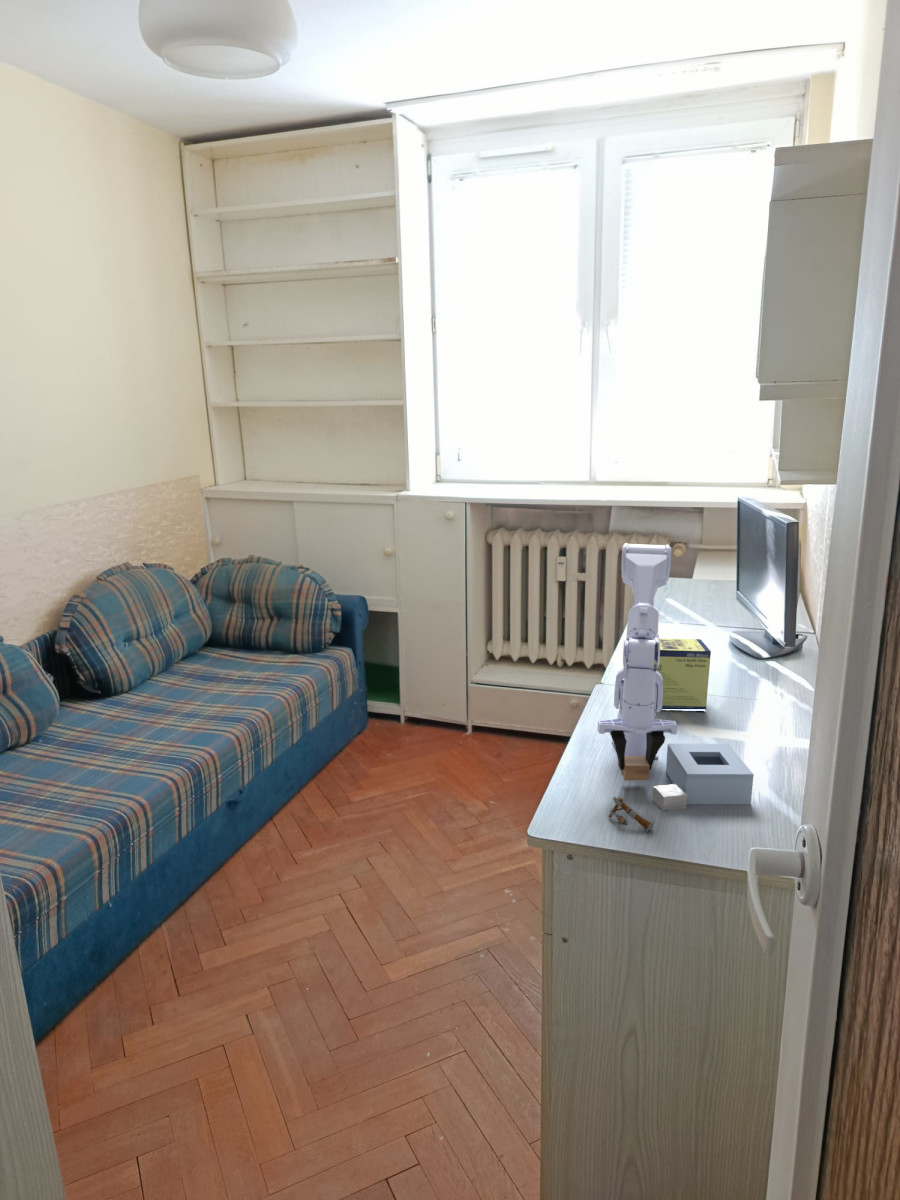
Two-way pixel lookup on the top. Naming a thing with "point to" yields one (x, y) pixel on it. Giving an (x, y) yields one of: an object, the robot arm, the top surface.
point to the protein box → (684, 673)
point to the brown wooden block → (636, 768)
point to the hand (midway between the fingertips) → (634, 767)
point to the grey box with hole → (709, 774)
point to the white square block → (669, 797)
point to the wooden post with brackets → (631, 813)
